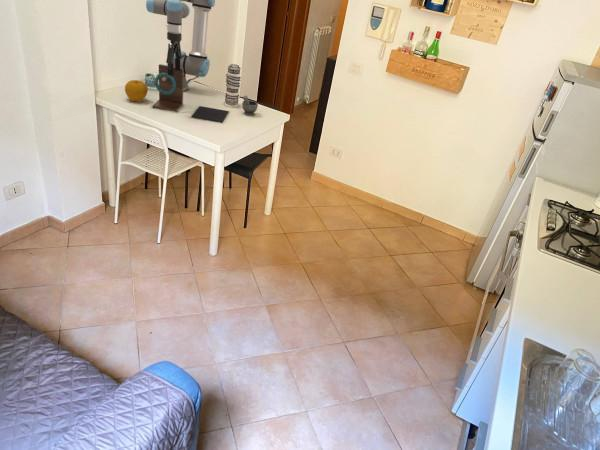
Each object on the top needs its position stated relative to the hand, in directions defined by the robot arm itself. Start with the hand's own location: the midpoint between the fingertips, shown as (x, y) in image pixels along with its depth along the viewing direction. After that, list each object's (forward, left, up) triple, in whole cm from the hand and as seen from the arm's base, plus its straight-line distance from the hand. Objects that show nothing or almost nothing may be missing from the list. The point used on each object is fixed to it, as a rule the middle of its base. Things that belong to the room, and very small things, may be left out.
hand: (174, 72), depth 243 cm
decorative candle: (-28, +29, -22) cm, 46 cm away
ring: (0, -5, -7) cm, 9 cm away
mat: (-3, +21, -22) cm, 30 cm away
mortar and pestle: (-16, +42, -22) cm, 50 cm away
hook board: (-5, -5, -22) cm, 23 cm away
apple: (-6, -24, -22) cm, 33 cm away
